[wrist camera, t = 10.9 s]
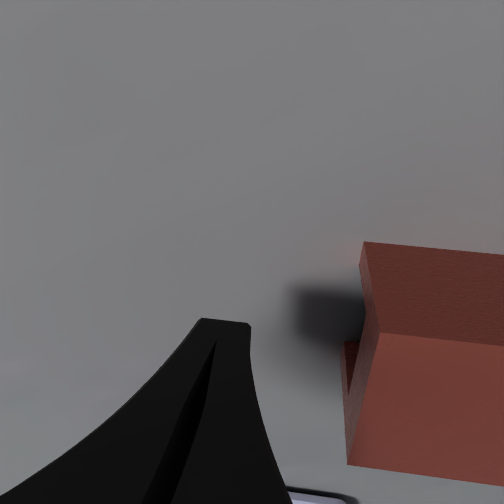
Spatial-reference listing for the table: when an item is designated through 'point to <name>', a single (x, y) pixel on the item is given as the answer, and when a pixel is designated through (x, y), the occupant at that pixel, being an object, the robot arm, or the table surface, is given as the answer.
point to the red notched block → (428, 364)
